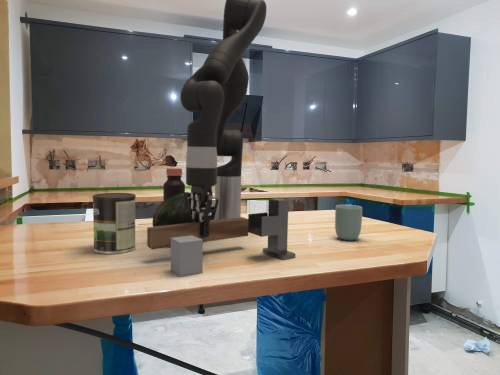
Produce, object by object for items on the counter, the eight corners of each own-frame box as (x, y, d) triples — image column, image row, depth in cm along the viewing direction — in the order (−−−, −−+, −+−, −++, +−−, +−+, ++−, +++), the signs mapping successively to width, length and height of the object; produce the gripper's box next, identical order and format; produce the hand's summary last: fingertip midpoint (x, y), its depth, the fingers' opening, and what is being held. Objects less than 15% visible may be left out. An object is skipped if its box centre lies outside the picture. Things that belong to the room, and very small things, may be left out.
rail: (147, 246, 85) (147, 227, 84) (242, 233, 99) (242, 217, 99) (151, 249, 82) (151, 229, 82) (248, 235, 97) (248, 219, 96)
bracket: (244, 255, 91) (245, 199, 89) (275, 250, 96) (276, 197, 95) (264, 263, 84) (265, 203, 83) (295, 257, 89) (297, 200, 88)
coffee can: (93, 256, 88) (92, 197, 86) (93, 246, 97) (92, 193, 96) (138, 252, 92) (137, 196, 90) (134, 242, 101) (133, 192, 100)
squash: (149, 217, 110) (154, 183, 100) (197, 217, 116) (207, 184, 106) (152, 257, 101) (159, 224, 91) (205, 255, 107) (216, 223, 97)
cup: (362, 242, 106) (363, 208, 105) (334, 241, 107) (335, 207, 106) (359, 237, 113) (361, 205, 112) (333, 235, 115) (335, 204, 114)
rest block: (170, 270, 78) (170, 237, 77) (192, 266, 81) (192, 235, 80) (180, 276, 74) (180, 242, 73) (202, 272, 77) (202, 239, 76)
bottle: (183, 227, 122) (183, 168, 121) (186, 232, 116) (186, 169, 114) (162, 228, 120) (162, 168, 118) (164, 233, 114) (164, 168, 112)
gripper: (229, 167, 85) (228, 239, 87) (202, 164, 97) (202, 228, 99) (200, 167, 81) (199, 243, 83) (175, 164, 93) (175, 231, 94)
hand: (201, 235), depth 91 cm, fingers closed on rail, 3 cm apart
